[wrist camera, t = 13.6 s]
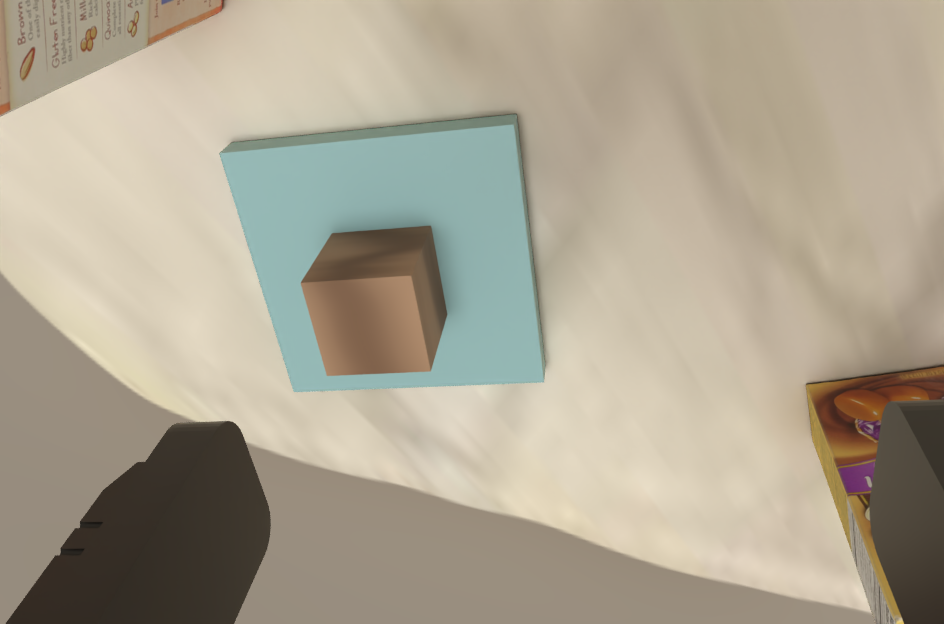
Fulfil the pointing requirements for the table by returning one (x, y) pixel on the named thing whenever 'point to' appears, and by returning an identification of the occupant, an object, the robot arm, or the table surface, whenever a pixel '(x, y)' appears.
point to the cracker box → (80, 39)
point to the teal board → (399, 206)
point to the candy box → (862, 460)
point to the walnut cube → (376, 301)
